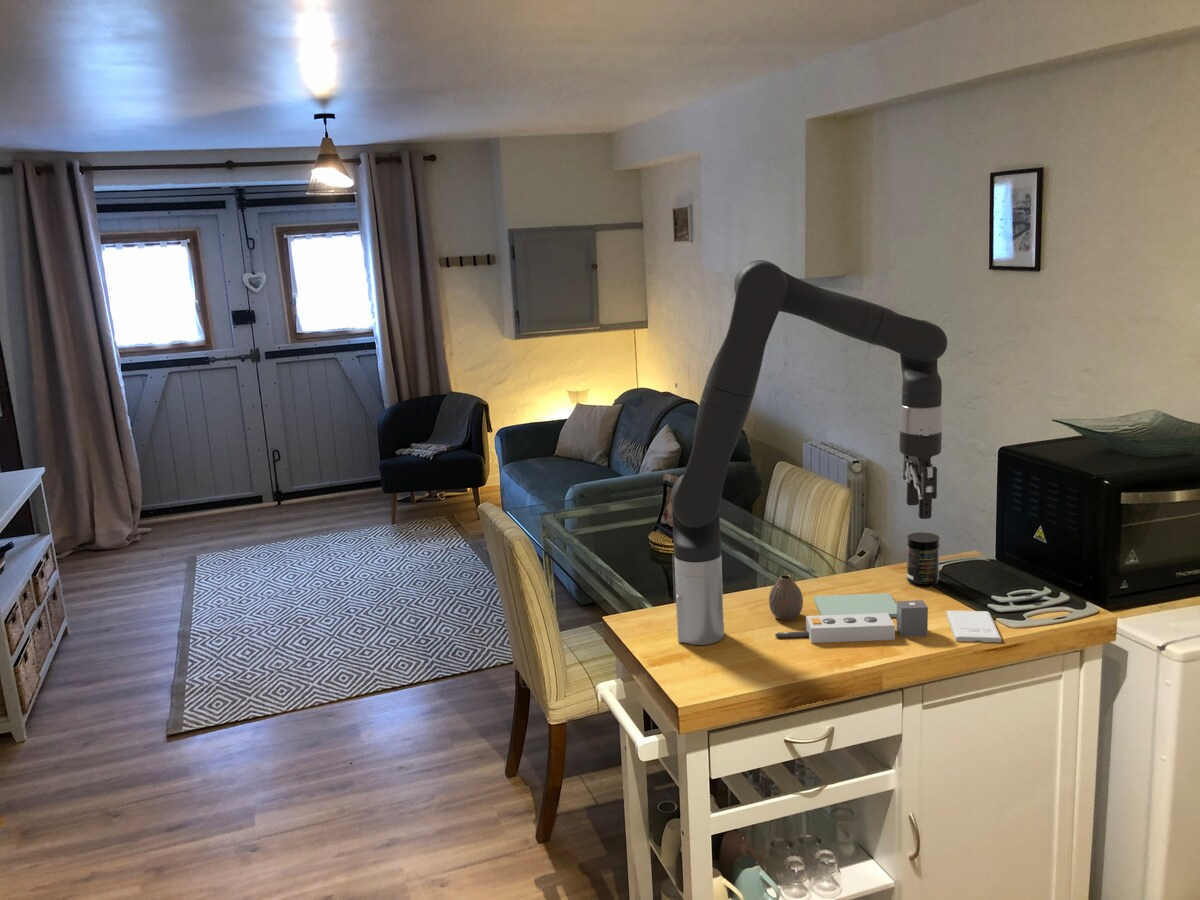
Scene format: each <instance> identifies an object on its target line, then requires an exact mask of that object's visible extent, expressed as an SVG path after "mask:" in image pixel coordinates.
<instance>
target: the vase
mask: <svg viewBox="0 0 1200 900" xmlns="http://www.w3.org/2000/svg"><path fill="white" fill-rule="evenodd" d="M768 603H769V604H768V605H769V609H770V611H771V613H772V615H773V616H774V617H775V618H776V619H778V620H781V621H793V620H795V619H796V618H797V617H799V615H800V614H801V612H802V610H803V607H804V597H803V593H802V590H801V589H800V587H799V586H798V584H797V583H796V582H795V581H794V579H793V576H791V575H788V574H782V575H780V576H779V577H778V580H777V581H776V582H775V583H774V585H773V586H772V587H771V589H770V591H769V596H768Z"/></svg>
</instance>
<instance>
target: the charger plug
mask: <svg viewBox="0 0 1200 900" xmlns="http://www.w3.org/2000/svg"><path fill="white" fill-rule="evenodd" d="M896 604H897V617H896V631H897V632H898V635H899V636H900V637H901V638H910V637H913V638H914V637H917V638H918V637H928V629H929V627H928V624H929V622H928V621H929V619H928V618H929V606H928V605H927V604H926V602H925V601H924V600H921V599H920V600H919V599H918V600H915V599H914V600H897V601H896Z"/></svg>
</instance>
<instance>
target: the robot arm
mask: <svg viewBox="0 0 1200 900" xmlns="http://www.w3.org/2000/svg"><path fill="white" fill-rule="evenodd" d="M733 288H734V292H735V298H734V303H733V304H734V305H733V310H732V314H731V318H730V323H729V327H728V330H727V332H726V336H725V337H724V339H723V341H722V342H723V343H722V344H721V346H720V348H719V350H718V352H717V354H716V356H715V357H714V360H713V363H712V365H711V367H710V370H709V372H708V375H707V377H706V380H705V384H704V386H703V391H702V394H701V397H700V400H699V405H698V409H697V415H696V420H695V427H694V434H693V442H692V448H691V452H690V456H689V458H688V462H687V464H686V467H685V470H684V473H683V474H682V475H680V476H679V477H678V478H677V479H676V480H675V482H674V484H673V485H672V487H671V488H672V489H671V495H670V496H671V516H672V518H671V519H672V542H673V557H674V559H673V560H674V579H675V606H676V608H675V609H676V626H677V627H676V630H677V643H684V644H689V645H694V646H695V645H697V646H706V645H712V644H716V643H718V642H720V641H721V640H722V639H723V638H724V637H725V623H724V597H723V594H724V593H723V592H724V591H723V569H722V568H723V565H722V560H723V559H722V538H721V523H720V522H721V520H720V519H721V518H720V507H721V502H722V495H723V489H724V484H725V480H726V475H727V472H728V471H727V470H728V468H729V464H730V461H731V458H732V456H733V453H734V451H735V450H736V449H735V448H736V446H737V445H738V441H739V438H740V436H741V434H742V431H743V428H744V425H745V424H746V423H745V422H746V420H747V418H748V414H749V412H750V408H751V405H752V402H753V399H754V395H755V392H756V388H757V384H758V380H759V378H760V377H759V376H760V373H761V370H762V369H761V368H762V363H763V360H764V359H763V358H764V353H765V349H766V345H767V342H768V340H769V337H770V334H771V331H772V329H773V327H774V324H775V322H776V319H777V317H778V316H779V315H778V314H779V313H780V312H781V313H786V314H790V315H793V316H798V317H799V318H803V319H806V320H809V321H811V322H814V323H816V324H819V325H820V326H823V327H825V328H827V329H830V330H832V331H834V332H837V333H839V334H842V335H844V336H846V337H849V338H853V339H856V340H859V341H862V342H863V343H864V342H865V343H867V344H871V345H874V346H878V347H879V346H880V347H883V348H887V349H888V350H890V351H893V352H895V353H897V354H899V358H900V367H901V373H902V374H901V375H902V384H901V385H902V386H901V409H900V415H899V444H898V445H899V448H898V449H899V452H900V453H901V455H903V465H902V466H903V468H902V470H903V472H902V480H903V481H904V484H905V486H906V501H905V502H906V504H907V505H908V506H918V512H917V513H918V517H919V519H921V520H927V519H931V518H932V511H933V510H932V507H933V506H932V504H933V503H932V502H933V500H934V499H935V500H936V499H937V497H938V494H937V492H938V491H937V489H938V488H937V487H938V486H937V485H938V468H937V466H934V464H932V461H931V458H933V457H935V456H939V455H940V453H941V452H942V439H943V437H942V436H943V412H942V395H943V393H942V392H943V389H942V388H943V386H942V385H943V384H942V383H943V382H942V378H941V376H940V374H939V371H938V359H940V358H941V357H942V356H943V355H944V354H945V352H946V350H947V348H948V337H947V335H946V333H945V331H944V329H942V328H941V327H940V326H938V325H937V324H935V323H933V322H930V321H928V320H925V319H916V318H914V317H910V316H907V315H903V314H899V313H898V312H896V311H894V310H891V309H889V308H888V307H886V306H882V305H880V304H876V303H873V302H871V301H868V300H864V299H861V298H858V297H854V296H851V295H848V294H843V293H840V292H836V291H832V290H829V289H826V288H822V287H819V286H818V285H817V286H816V285H813V284H812V283H808V282H806V281H804V280H801V279H799V278H797V277H795V276H793V275H791V274H789V273H787V272H785V271H783V270H782V269H781V267H779V266H778V265H776V264H775V263H773V262H771V261H768V260H765V259H756V260H752V261H750V262H748V263H746V264H744V265H743V266H742V267H741V268H740V269H739V270H738V272H737V274H736V276H735V278H734V285H733ZM927 490H928V492H927Z"/></svg>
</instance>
